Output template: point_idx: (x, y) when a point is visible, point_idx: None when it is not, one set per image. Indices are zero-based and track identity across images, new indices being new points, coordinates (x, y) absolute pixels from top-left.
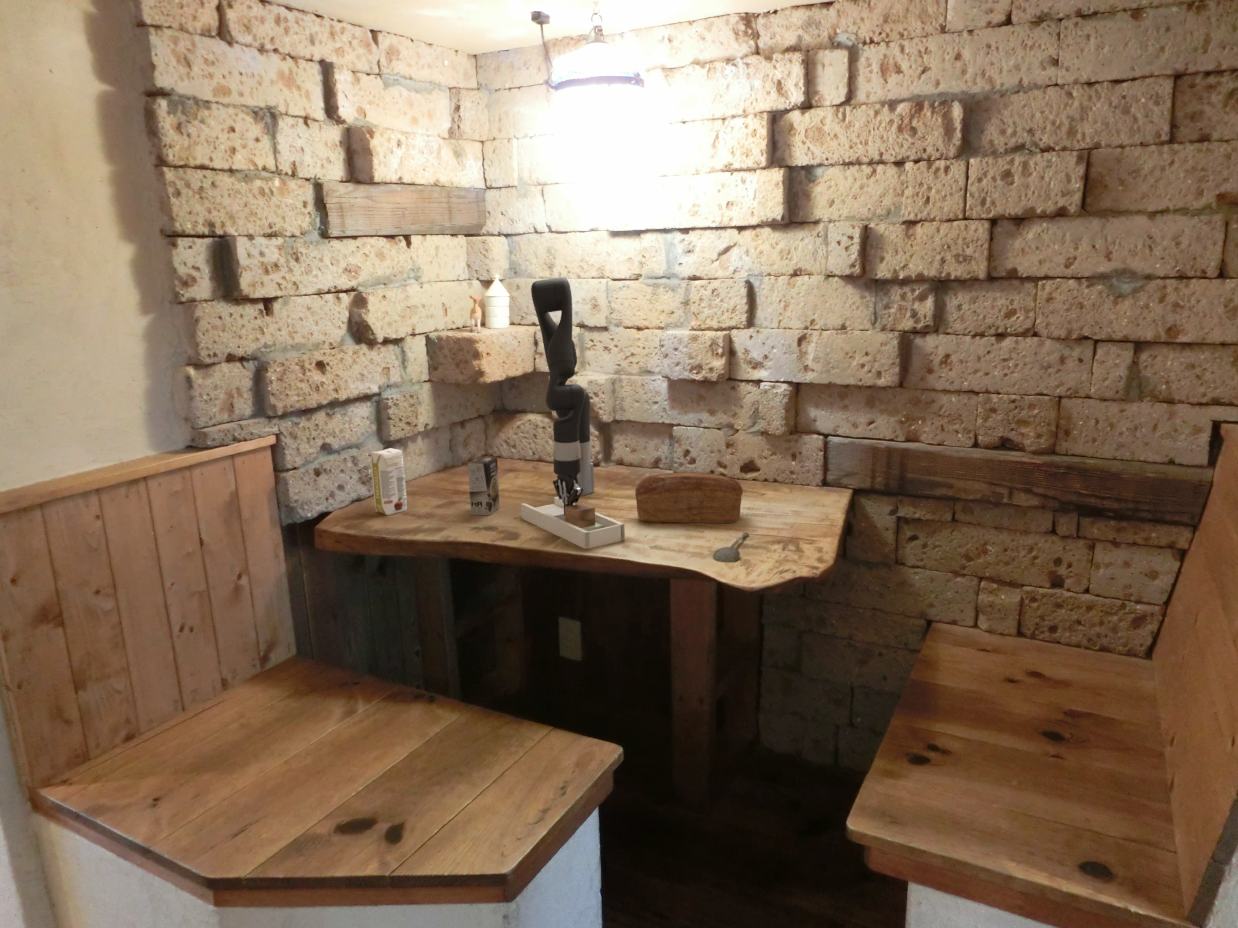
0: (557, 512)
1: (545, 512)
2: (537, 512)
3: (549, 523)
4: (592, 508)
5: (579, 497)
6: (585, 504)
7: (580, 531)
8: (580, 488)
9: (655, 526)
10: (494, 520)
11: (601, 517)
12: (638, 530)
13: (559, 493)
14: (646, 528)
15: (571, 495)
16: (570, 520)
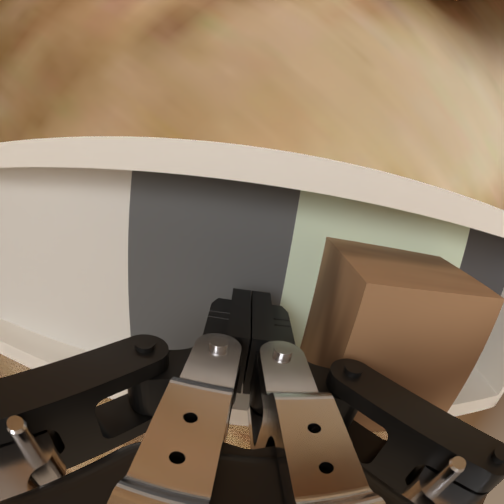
0: (84, 249)
1: None
2: None
3: None
4: (494, 317)
5: (423, 403)
6: (419, 305)
7: (472, 410)
8: (496, 484)
9: (490, 25)
10: (16, 373)
11: (476, 229)
12: (497, 93)
13: (136, 436)
14: (494, 58)
15: (379, 478)
16: None
